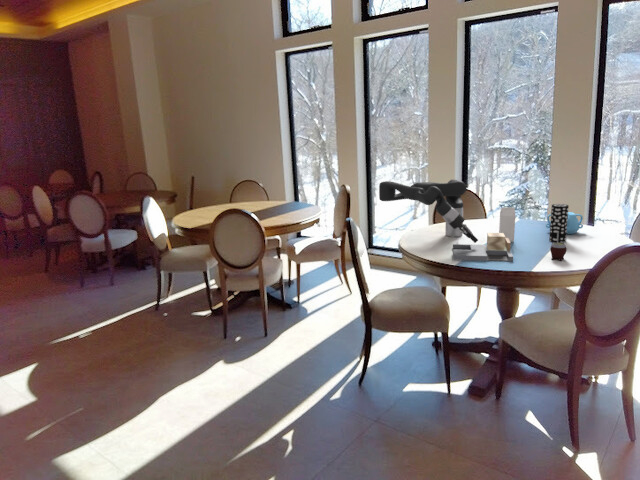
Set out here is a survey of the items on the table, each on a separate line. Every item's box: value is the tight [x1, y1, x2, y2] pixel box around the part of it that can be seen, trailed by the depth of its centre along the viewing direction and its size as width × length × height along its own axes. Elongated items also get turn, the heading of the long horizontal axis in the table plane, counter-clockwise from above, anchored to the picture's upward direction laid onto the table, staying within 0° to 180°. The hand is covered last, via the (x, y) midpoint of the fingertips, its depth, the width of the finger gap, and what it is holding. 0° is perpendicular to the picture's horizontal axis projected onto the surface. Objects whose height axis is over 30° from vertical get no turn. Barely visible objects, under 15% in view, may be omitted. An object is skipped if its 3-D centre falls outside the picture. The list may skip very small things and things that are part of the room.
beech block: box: [486, 232, 505, 250], centre depth 258 cm, size 8×8×7 cm
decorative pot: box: [545, 211, 584, 235], centre depth 293 cm, size 16×16×14 cm
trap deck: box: [452, 238, 514, 262], centre depth 255 cm, size 28×22×6 cm
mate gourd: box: [549, 232, 568, 262], centre depth 241 cm, size 8×8×15 cm
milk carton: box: [498, 206, 516, 243], centre depth 280 cm, size 7×7×19 cm
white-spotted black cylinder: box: [548, 203, 570, 243], centre depth 274 cm, size 8×8×20 cm
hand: (476, 241), depth 259 cm, fingers closed
